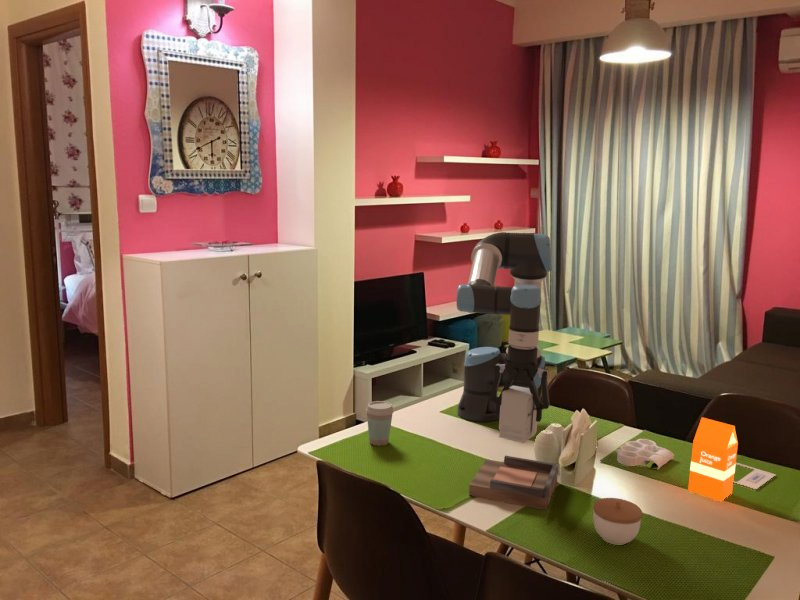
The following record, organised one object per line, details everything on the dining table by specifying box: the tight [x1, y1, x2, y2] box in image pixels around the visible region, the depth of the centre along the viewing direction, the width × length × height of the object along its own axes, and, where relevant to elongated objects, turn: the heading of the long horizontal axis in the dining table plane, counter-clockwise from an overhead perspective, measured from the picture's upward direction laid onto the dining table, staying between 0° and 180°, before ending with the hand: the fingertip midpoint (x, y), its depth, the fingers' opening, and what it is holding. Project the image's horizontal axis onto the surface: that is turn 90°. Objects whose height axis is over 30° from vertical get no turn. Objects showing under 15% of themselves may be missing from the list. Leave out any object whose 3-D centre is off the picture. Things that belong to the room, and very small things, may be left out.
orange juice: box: [687, 417, 739, 503], centre depth 188 cm, size 8×9×20 cm
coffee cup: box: [365, 400, 394, 447], centre depth 217 cm, size 8×8×12 cm
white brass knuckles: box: [614, 438, 675, 470], centre depth 211 cm, size 3×18×15 cm
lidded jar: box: [592, 497, 643, 545], centre depth 163 cm, size 11×11×9 cm
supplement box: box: [499, 386, 539, 444], centre depth 185 cm, size 7×7×13 cm
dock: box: [468, 455, 559, 511], centre depth 189 cm, size 18×20×5 cm
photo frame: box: [733, 461, 777, 490], centre depth 203 cm, size 15×1×18 cm
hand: (517, 430), depth 186 cm, fingers closed on supplement box, 8 cm apart
